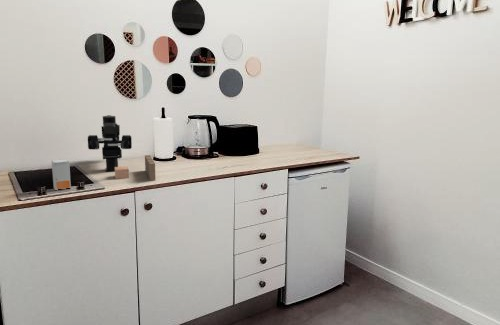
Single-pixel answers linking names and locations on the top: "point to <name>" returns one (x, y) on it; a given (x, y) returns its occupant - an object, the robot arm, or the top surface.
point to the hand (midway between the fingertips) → (110, 146)
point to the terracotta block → (121, 172)
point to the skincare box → (61, 174)
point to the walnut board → (150, 167)
